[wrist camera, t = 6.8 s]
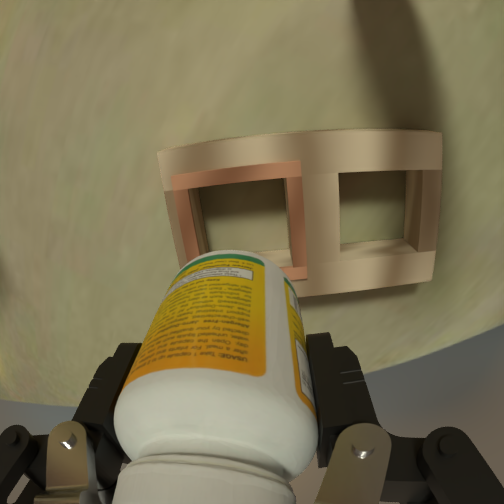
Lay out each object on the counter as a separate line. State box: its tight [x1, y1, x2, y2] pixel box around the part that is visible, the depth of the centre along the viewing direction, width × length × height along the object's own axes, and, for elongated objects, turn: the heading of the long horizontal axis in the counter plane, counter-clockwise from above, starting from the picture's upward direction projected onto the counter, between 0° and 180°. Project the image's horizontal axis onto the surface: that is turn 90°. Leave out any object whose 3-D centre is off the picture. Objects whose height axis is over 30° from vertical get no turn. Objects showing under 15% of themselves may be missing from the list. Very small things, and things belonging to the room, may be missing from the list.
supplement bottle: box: [112, 250, 318, 504], centre depth 9 cm, size 5×5×10 cm
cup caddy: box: [157, 129, 442, 297], centre depth 23 cm, size 20×12×3 cm, turn 96°
